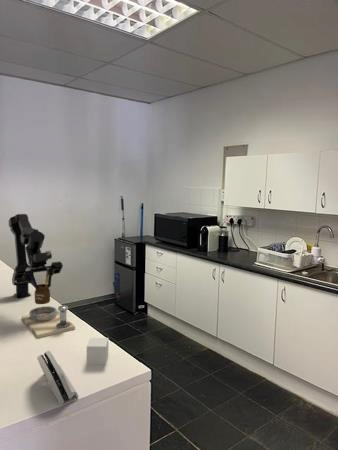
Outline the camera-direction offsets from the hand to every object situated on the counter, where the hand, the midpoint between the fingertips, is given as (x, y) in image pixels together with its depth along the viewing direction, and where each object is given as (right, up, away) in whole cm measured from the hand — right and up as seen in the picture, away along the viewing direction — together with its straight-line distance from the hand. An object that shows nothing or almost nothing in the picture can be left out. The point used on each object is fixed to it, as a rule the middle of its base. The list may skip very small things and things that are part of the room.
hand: (43, 287), depth 136 cm
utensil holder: (-1, -7, +2) cm, 7 cm away
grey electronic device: (+20, -20, -43) cm, 52 cm away
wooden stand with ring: (+2, -14, -2) cm, 14 cm away
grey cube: (+28, -18, -28) cm, 44 cm away
